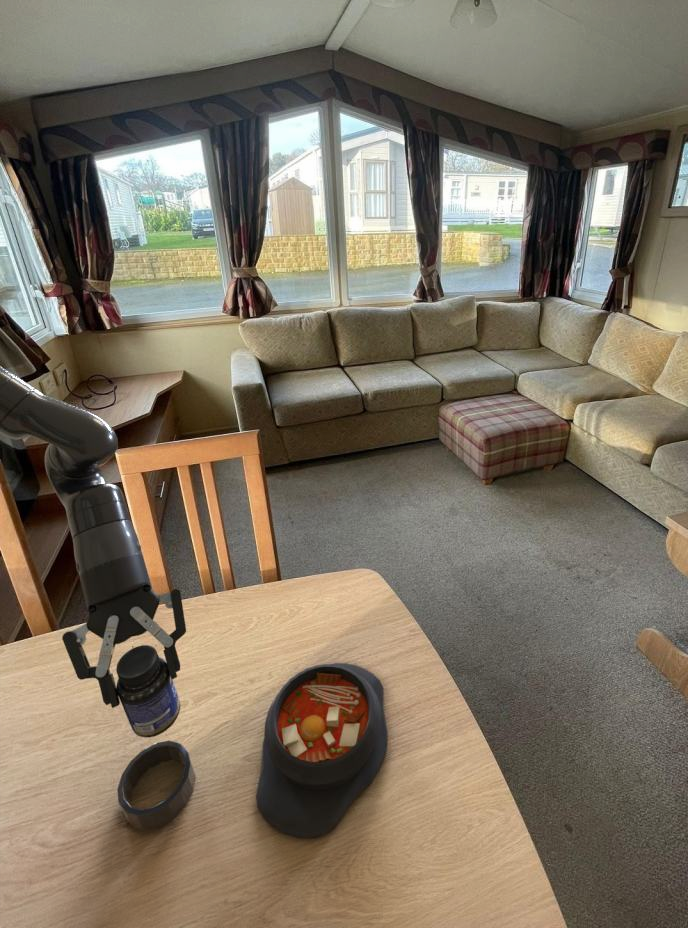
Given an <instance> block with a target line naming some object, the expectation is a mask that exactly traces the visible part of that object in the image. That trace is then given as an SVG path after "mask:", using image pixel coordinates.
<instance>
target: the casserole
mask: <svg viewBox="0 0 688 928" xmlns="http://www.w3.org/2000/svg"><path fill="white" fill-rule="evenodd" d="M384 690H385V689H384V686H383V684H382V682H381V680H380V678H378V677H377V676H376V675H375V674H374V673H373V672H371V671H369V669H366V668H364V667H363V666H362V667H361V666H359V665H356V664H351V663H347V662H335V663H323V664H316V665H314V666H310V667H308V668H305V669H303V670H302V671H300V672H298V673H296V674H295V675H294V676H292V677H291V678H290V679H289V680H287V681H286V683H285V684H284V685H283V686H282V687H281V688H280V690H279V691H278V693H277V694H276V696H275V697H274V699H273V700H272V701H271V704H270V706H269V709H268V710H267V713H266V718H265V722H264V733H263V735H264V736H263V741H262V754H261V756H262V757H261V771H260V776H259V780H258V784H257V789H256V795H255V798H256V805H257V809H258V810H259V812H260V814H261V815H262V817H263V819H264V820H266V822H267V823H268V824H269V825H271V826H272V828H274V829H276V830H278V831H279V832H281V833H283V834H284V835H288V836H292V837H296V838H302V839H303V838H305V839H313V838H317V837H322V836H323V837H324V836H325V835H326V834H328V833H329V832H331V831H333V830H334V829H335V828H336V826H337V825H338V824H339V822H340V821H341V820H342V818H343V817H344V815H345V814H346V812H347V811H348V809H349V808H350V807H351V805H352V803H353V802H354V801H355V800H357V798H359V796H361V794H362V793H363V792H364V791H365V790H366V789H367V788H368V787H370V785H371V784H372V783H373V782H374V779H376V777H377V775H378V774H379V772H380V770H381V768H382V765H383V763H384V761H385V758H386V753H387V749H388V740H389V739H388V736H389V735H388V734H389V733H388V732H389V731H388V725H387V720H386V715H385V710H384Z"/></svg>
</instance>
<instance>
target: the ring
mask: <svg viewBox="0 0 688 928" xmlns="http://www.w3.org/2000/svg"><path fill="white" fill-rule="evenodd" d="M170 761H171V762H172V761H174V762H177V763H181V764H182V765H183V766H184V769H183V774H182V777H181V780H180V781H179V783H178V785H177V787H176V789H174V791H173V792H172V793H171V794H170V795H169V796H168V797H167V798H166V799H164V800H163V801H162V802H160V803H158V804H156V805H155V806H152V807H147V808H141V809H140V808H137V807H133V806H131V801H132V796H133V792H134V790H135V788H136V786H137V785H138V783H139V781H140V780H141V779H142V777H143V776H145V774H146V773H147V772H148V771H150V769H152V768H154V767H155V766H156V767H157V765H160V764H161V763H166V762H170ZM195 783H196V773H195V768H194V765H193V762H192V759H191V755H190V752H189V750H188V749H186V747H185V746H183V744H182V743H180V742H176V741H173V740H166V741H165V740H164V741H159V742H155V743H153V744H151V745H149V746H147V747H145V748H143V749H142V750H141V751H139V753H138V754H136V755H135V756H134V757H133V758H132V759H131V760H130V761H129V763H128V765H126V767H125V769H124V770H123V772H122V773H121V776H120V779H119V782H118V786H117V797H118V798H117V800H118V805H119V806H120V808H121V810H122V813H123V815H124V817H125V819H126V820H127V822H128V823H129V824H130V826H131V827H132V828H135V829H138V830H140V831H150V830H156V829H159V828H161V827H163V826H165V825H166V824H168V823H171V821H173V820H174V819H176V818H177V816H178V815H179V814H180V813H181V812H182V811H183V810H184V809H185V808H186V806H187V804H188V802H189V800H190V799H191V797H192V795H193V793H194V789H195Z"/></svg>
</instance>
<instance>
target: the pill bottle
mask: <svg viewBox="0 0 688 928" xmlns="http://www.w3.org/2000/svg"><path fill="white" fill-rule="evenodd" d="M115 667H116V668H115V669H116V675H117V682H116V689H117V693H118V697H119V701H120V704H121V706H122V708H123V710H124V714H125V715H126V718H127V720H128V722H129V726H130V728H131V729H132V732H133V733H134V734H135V735H136V736H138V737H141V738H146V739H147V738H153V737H156V736H159V735H161V734H163V733H165V732H167V730H169V729H170V728H171V727H172V726H173V724H174V723H175V722H176V721H177V719H178V717H179V715H180V710H181V701H180V698H179V694H178V692H177V689H176V685H175V683H174V679H172V680H171V676H170V673H169V669H168V666H167V662H166V659H164V658H163V657H161V656H159V654H158V651H157V650H156V648H155V647H154V646H152V645H149V644H141V645H138V646H135V647H133V648H131V649H129V650H127V651H126V652H125V653H124V654H123V655H122V656H121V657H120V659H119V660H118V662H117V664H116V666H115Z"/></svg>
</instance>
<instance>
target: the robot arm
mask: <svg viewBox="0 0 688 928" xmlns="http://www.w3.org/2000/svg"><path fill="white" fill-rule="evenodd" d="M0 434H1V435H3V436H5V437H6V438H9V439H12V440H23V439H26V438H28V437H33V438H36V439H39V440H41V441H44V442H46V443H48V446H47V447H46V449H45V453H44V467H45V472H46V475H47V477H48V480H49V482H50V485H51V486H52V488H53V490H54V492H55V493H56V496H57V497H58V499H59V501H60V503H61V504H62V505H63V507H64V508H65V512H66V518H67V522H68V523H67V524H68V526H69V530H70V535H71V538H72V543H73V555H74V560H75V568H76V571H77V573H78V577H79V581H80V584H81V589H82V592H83V597H84V602H85V605H86V608H87V613H88V615H87V620H86V623H84V624H83V625H81V626H78V627H77V628H75V629H73V630H70V631H66V632H64V633H63V635H62V638H61V640H62V642H63V645H64V647H65V650H66V652H67V655H68V657H69V659H70V662H71V664H72V667H73V670H74V672H75V674H76V677H77V679H79V680H86V679H96V680H97V682H98V685H99V689H100V693H101V697H102V701H103V703H104V705H105V706H108V705H110V706H111V708H112V709H114V708H117V707H118V706H120V704H121V701H120V698H119V696H118V693H117V688H116V686H117V684H116V681H115V677H114V673H113V672H111V670H110V668H111V663H112V660H113V656H114V653H115V649H116V645H120V644H122V643H125V642H127V641H128V640H129V639H131V638H133V637H138V636H141V635H143V634H146V633H147V632H148V633H149V634H150V635H151V636H152V637H154V638H155V640H157V641H158V642H159V643H160V644H161V645H162V646H163V648H164V649H163V654H164V658H165V659H164V660H165V661H166V663H167V666H168V669H169V673H170V676H171V680H172V679H173V680H175V679H177V678H178V674H177V672H180V671H181V662H180V659H179V655H178V652H177V648H176V643H177V642H178V640H179V639H181V638H182V637H183V636H184V635H185V634H186V633H187V626H186V619H185V612H184V606H183V600H182V593H181V590H180V589H178V588H173V589H172V591H169V592H165V593H161V594H158V593H157V592H156V591H155V590H154V589H153V585H152V582H151V579H150V575H149V571H148V568H147V564H146V561H145V557H144V553H143V549H142V545H141V543H140V540H139V537H138V534H137V532H136V530H135V528H134V526H133V523H132V520H131V516H130V515H131V514H130V512H129V509H128V505H127V501H126V499H125V498H126V497H125V495H124V493H123V491H122V488H120V486H118V485H117V484H114V483H107V481H106V479H105V477H104V475H103V472H102V467H103V466H104V465H105V464H107V463H108V462H109V461H110V460H111V459H112V458H113V457H114V456H115V454H116V453H117V451H118V448H119V439H118V436H117V433H116V432H115V430H114V429H113V428H112V427H111V425H110V424H109V423H107V421H105V420H104V419H103V418H101V417H99V416H98V415H96V414H94V413H92V412H90V411H88V410H85V409H83V408H79V407H77V406H75V405H72V404H70V403H67V402H65V401H62V400H59V399H58V398H57V399H56V398H53V397H51V396H48V395H46V394H44V393H43V392H41V390H39V389H37V388H35V387H34V386H32V385H31V384H29V383H28V382H26V381H25V380H24V379H22V378H20V377H19V376H17V375H15V374H14V373H13V372H11V371H9V370H8V369H6V368H4V367H3V366H2V365H0ZM161 603H163V604H164V605H165V607H166V608H167V609H168V610H169V609H170V610H171V609H172V612H173V613H172V614H173V620H174V621H173V622H174V627H175V629H174V630H173V631H172V632H171V633H170V634H169V633H168V632H167V631H166V630H164V629H163V628H162V627H161V625H159V624H158V622H156V621H155V620H154V618H155V616H156V614H157V611H158V608H159V605H160V604H161ZM88 632H91V633H92V634H94V635H95V636H97V637H99V638H101V639H102V643H101V647H100V651H99V657H98V661H97V664H96V665H92V666H91V665H90V662H89V660H88V657H87V654H86V652H85V649H84V647H83V645H84V644H85V643H86V642H87V634H88Z"/></svg>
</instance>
